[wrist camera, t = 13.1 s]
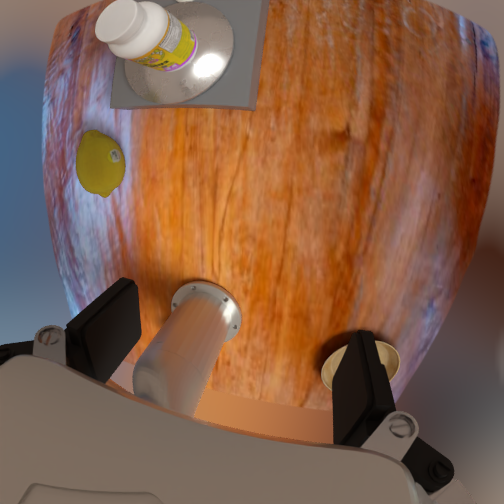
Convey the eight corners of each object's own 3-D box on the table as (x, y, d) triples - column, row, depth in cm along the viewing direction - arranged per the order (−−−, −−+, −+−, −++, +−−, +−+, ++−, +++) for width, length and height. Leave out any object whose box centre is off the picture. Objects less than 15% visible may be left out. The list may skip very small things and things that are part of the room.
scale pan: (227, 105, 30) (224, 104, 29) (122, 106, 32) (118, 106, 31) (241, 0, 24) (240, -3, 23) (138, 13, 26) (134, 11, 25)
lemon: (136, 191, 42) (106, 202, 34) (101, 193, 43) (70, 205, 36) (132, 124, 38) (100, 125, 30) (96, 132, 39) (63, 135, 32)
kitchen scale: (255, 111, 34) (246, 106, 29) (129, 109, 37) (106, 108, 31) (270, -10, 26) (264, -28, 21) (147, 2, 29) (128, -10, 23)
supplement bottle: (144, 68, 28) (76, 49, 17) (164, 24, 25) (105, -10, 14) (187, 78, 28) (126, 54, 17) (208, 32, 25) (159, -11, 14)
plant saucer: (412, 345, 44) (415, 354, 41) (368, 393, 50) (369, 402, 47) (348, 319, 44) (349, 329, 41) (307, 374, 50) (306, 384, 48)
